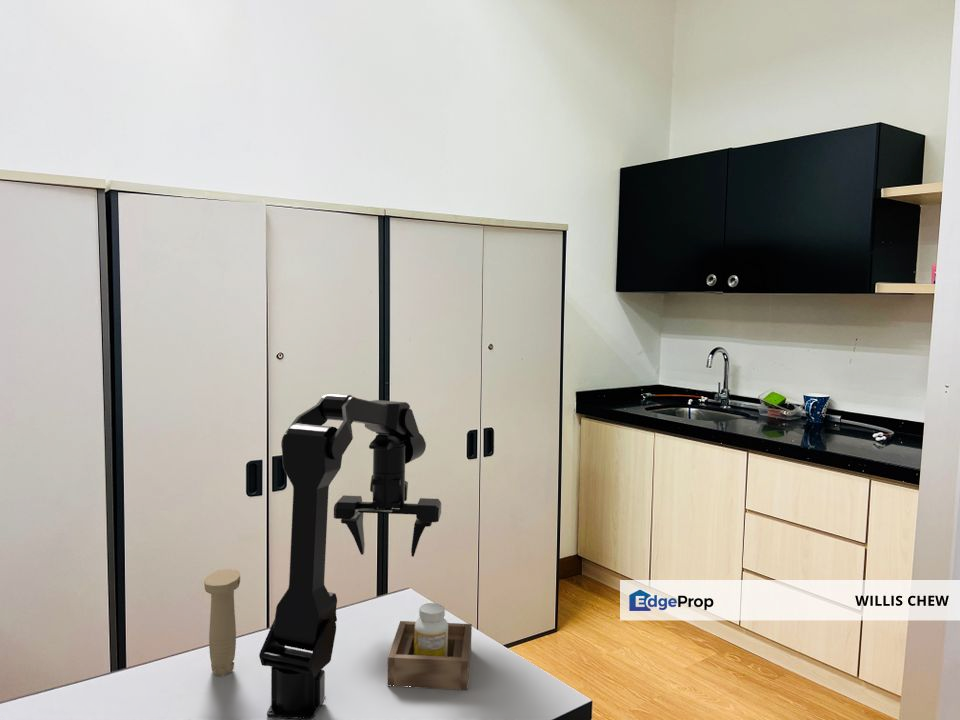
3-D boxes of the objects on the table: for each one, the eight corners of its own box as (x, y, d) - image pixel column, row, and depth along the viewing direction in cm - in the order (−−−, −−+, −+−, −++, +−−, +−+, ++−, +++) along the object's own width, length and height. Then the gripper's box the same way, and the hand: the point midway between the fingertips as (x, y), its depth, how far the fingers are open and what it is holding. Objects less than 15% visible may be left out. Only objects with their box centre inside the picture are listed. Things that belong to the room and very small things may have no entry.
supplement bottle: (439, 678, 105) (440, 617, 104) (407, 671, 107) (409, 611, 106) (452, 662, 110) (454, 604, 109) (422, 655, 112) (423, 598, 111)
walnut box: (387, 686, 103) (387, 657, 102) (399, 646, 115) (400, 620, 114) (466, 689, 102) (467, 661, 102) (471, 650, 114) (471, 624, 114)
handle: (244, 660, 109) (244, 569, 108) (232, 682, 102) (232, 585, 101) (213, 660, 109) (213, 569, 107) (199, 682, 102) (198, 585, 101)
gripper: (444, 462, 130) (443, 541, 131) (347, 458, 131) (347, 538, 132) (439, 476, 119) (437, 563, 120) (333, 472, 120) (332, 559, 121)
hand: (387, 554), depth 124 cm, fingers open, 9 cm apart
